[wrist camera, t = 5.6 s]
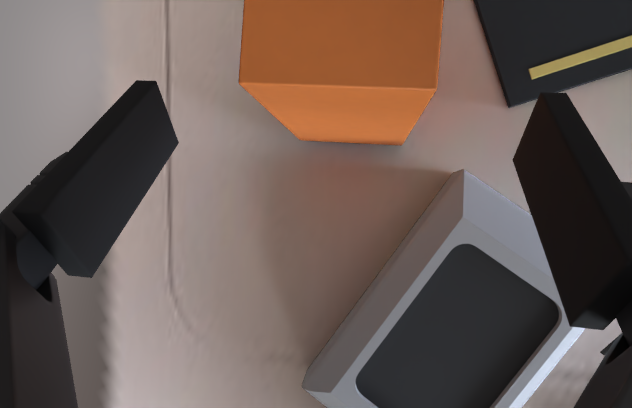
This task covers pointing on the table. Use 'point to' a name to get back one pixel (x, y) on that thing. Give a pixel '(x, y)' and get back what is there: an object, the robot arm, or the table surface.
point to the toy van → (342, 65)
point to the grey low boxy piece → (451, 314)
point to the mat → (555, 43)
